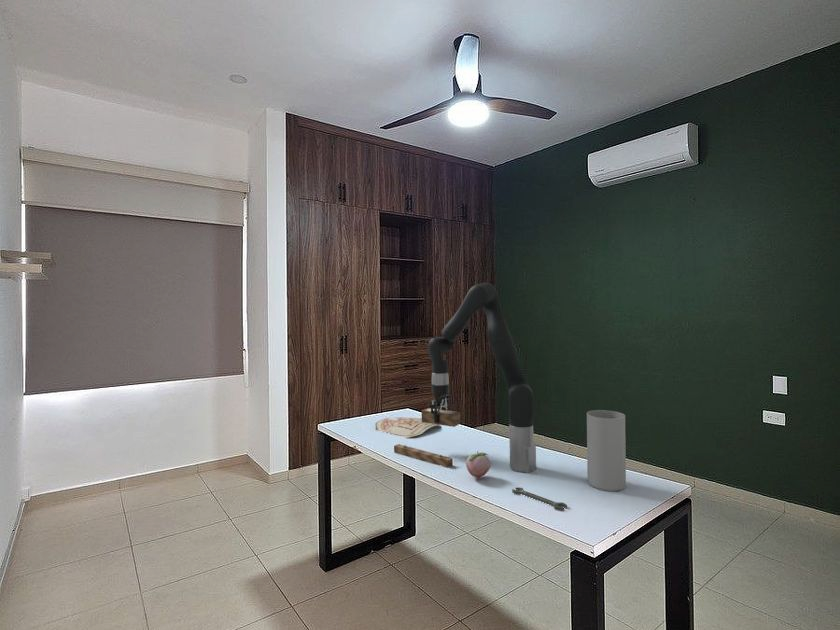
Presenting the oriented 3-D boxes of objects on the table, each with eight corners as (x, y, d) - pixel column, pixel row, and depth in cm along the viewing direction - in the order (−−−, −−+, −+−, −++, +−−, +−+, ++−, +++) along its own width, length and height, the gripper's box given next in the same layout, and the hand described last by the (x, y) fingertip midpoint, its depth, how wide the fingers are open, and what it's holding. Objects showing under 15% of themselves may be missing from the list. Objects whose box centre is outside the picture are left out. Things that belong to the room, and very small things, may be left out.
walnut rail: (452, 465, 180) (452, 456, 180) (448, 467, 178) (447, 458, 178) (398, 450, 200) (398, 442, 200) (394, 452, 198) (394, 444, 198)
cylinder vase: (582, 477, 165) (581, 410, 164) (617, 477, 165) (616, 410, 164) (594, 492, 152) (594, 419, 152) (632, 491, 152) (631, 418, 152)
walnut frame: (460, 423, 194) (460, 411, 194) (454, 426, 189) (454, 414, 189) (428, 419, 202) (428, 407, 202) (421, 422, 197) (421, 410, 197)
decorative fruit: (477, 471, 173) (476, 446, 173) (494, 477, 167) (493, 450, 167) (460, 478, 167) (460, 451, 167) (477, 484, 161) (477, 456, 161)
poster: (369, 436, 235) (414, 444, 217) (367, 424, 234) (413, 431, 216) (402, 421, 257) (446, 426, 239) (401, 410, 257) (445, 415, 238)
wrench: (518, 489, 157) (518, 486, 157) (570, 508, 142) (569, 504, 141) (509, 493, 154) (509, 490, 154) (561, 513, 138) (561, 509, 138)
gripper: (440, 379, 203) (440, 416, 204) (424, 384, 191) (424, 424, 192) (455, 381, 200) (455, 418, 200) (439, 386, 187) (440, 426, 188)
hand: (440, 421), depth 196 cm, fingers closed on walnut frame, 6 cm apart
